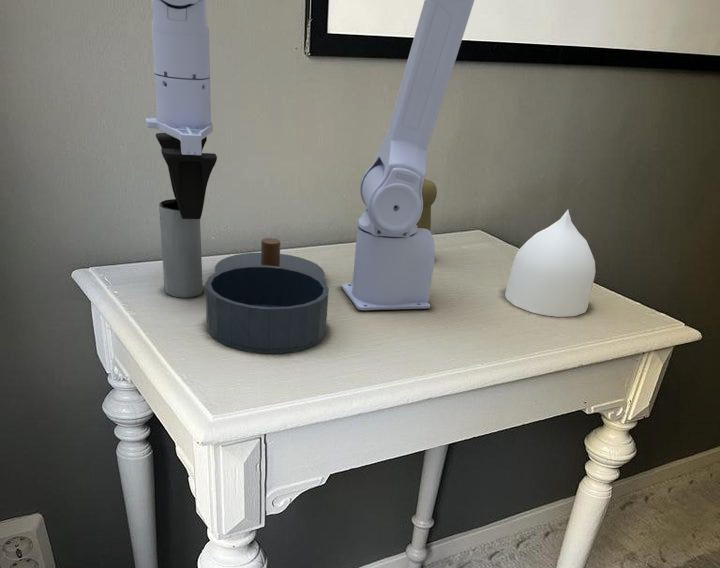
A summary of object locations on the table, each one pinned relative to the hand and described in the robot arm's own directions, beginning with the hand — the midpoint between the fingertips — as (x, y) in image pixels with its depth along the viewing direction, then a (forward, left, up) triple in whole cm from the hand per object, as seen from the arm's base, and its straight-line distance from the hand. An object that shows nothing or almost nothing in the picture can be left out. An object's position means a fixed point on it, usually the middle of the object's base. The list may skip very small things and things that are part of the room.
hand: (187, 208), depth 85 cm
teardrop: (-46, +6, -10) cm, 48 cm away
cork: (-33, -12, -10) cm, 36 cm away
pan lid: (-11, -4, -9) cm, 14 cm away
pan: (-7, +12, -10) cm, 17 cm away
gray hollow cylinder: (+1, 0, -10) cm, 10 cm away
